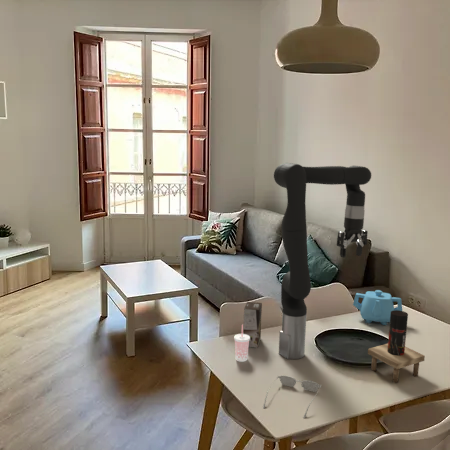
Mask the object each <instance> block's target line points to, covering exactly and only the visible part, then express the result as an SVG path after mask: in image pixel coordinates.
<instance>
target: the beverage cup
mask: <svg viewBox="0 0 450 450" xmlns="http://www.w3.org/2000/svg"><path fill="white" fill-rule="evenodd" d="M243 328H244V323H242V324H241V333H238V334H237V333H236V334H235V335H234V337H233V340H234V351H235V360H236V361H237V362H242V363H243V362H246V361H248V356H249V340H250V336H249V335H246V334H243Z"/></svg>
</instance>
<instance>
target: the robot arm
mask: <svg viewBox="0 0 450 450" xmlns="http://www.w3.org/2000/svg"><path fill="white" fill-rule="evenodd" d="M273 179H274V182H275V183H276V185H278V186H280V187H281V188H284V189H285V190H286V195H287V196H286V198H287V203H286V204H287V205H286V209H285V211H284V214H283V218H282V220H281V237H282V238H281V239H282V243H283V244H282V245H283V248H284V251H285V254H286V257H287V260H288V265H289V271H288V272H286V273H285V274H284V276H283V278H282V280H281V289H280V293H281V295H280V300H281V301H280V302H281V307H282V318H281V319H282V320H281V321H282V322H281V330H280V331H279V336H278V338H279V339H278V340H279V341H278V345H279V346H278V354H279V355H281V356H282V357H284V358H285V359H287V360H298V359H299V360H300V359H302V358H304V356H305V350H306V349H305V348H306V347H305V346H306V332H307V331H306V328H307V327H306V326H307V310H308V309H307V308H308V307H307V304H306V302H305V299H306V298H307V297H308V296H309V295H310V292H311V289H312V282H311V275H310V268H309V261H308V260H309V259H308V254H309V253H308V231H307V227H308V226H307V215H306V214H307V213H306V212H307V211H306V210H307V209H306V208H307V207H306V206H307V205H306V195H307V194H306V193H307V192H306V191H307V184H316V185H329V186H330V185H331V186H332V185H333V186H334V185H335V186H336V185H345V190H346V205H345V209H344V217H343V218H344V221H343V227H344V231H338V232H337V238H336V246H337V247H339V249H340V250H339V255H340V257H341V258H346V255H347V247H348V245H350V244H351V243H354V242H355V243H356V245H357V246H356V249H355V250H356V252H355V255H356V256H358V257H361V256H362V254H363V247H364V246H367V245H368V234H369V233H368V230H366V229H364V221H365V210H366V209H365V204H366V193H365V191H363V190H362V189H361V186H362V185H363V186H364V185H366V184H368V183H369V182H370V181H371V179H372V171H371V170H370V169H369V167H366V166H361V165H350V166H342V165H337V166H336V165H328V166H303V165H301V164H298V163H292V162H285V163H281V164H279V165H278V166H277V167H276V168H275V169H274V172H273Z"/></svg>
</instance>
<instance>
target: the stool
mask: <svg viewBox="0 0 450 450" xmlns="http://www.w3.org/2000/svg"><path fill="white" fill-rule="evenodd" d="M387 350H388V343H384V344H382V345H377V346H374V347H369V348H368V349H367V355H369V356H371V366H370V367H371V369H370V370H371V371H374V372H376V371H377V366H378V365H377V363H378V360H379V361H380V362H383V363H385V364H386V365H388V366H390V367H391V368H393V373H392V383H395V384H397V383H399V375H400V369H402V368H406V367H408V366H411V365H413V370H412V376H414V377H418V376H419V369H420V368H419V367H420V363H421V362H425V355H424V354H423V353H420V352H417V351H416V350H414V349H411V348H409V347H407V346H405V352H404V355H401V356H397V355H392V354H390V353H388V351H387Z"/></svg>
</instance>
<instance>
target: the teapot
mask: <svg viewBox="0 0 450 450" xmlns="http://www.w3.org/2000/svg"><path fill="white" fill-rule="evenodd" d="M359 298H361V299H362V301H361V303H360V302H359ZM394 302H397V306H394ZM402 303H403V302H402V298H401V297H394V296H393V297H392V295H391V293H389V292H383V291H382V290H380V289H376V290H375V291H372V290H371V291H366V292H365V293H360V292H356V293H355V296H354V299H353V303H352V306H354V307H355V308H356V309H358V310H359V312H360V316H361V318H362V319H363V320H364V323H366V324H371V323H372V322H378V323H380V324H381V325H382V326H388V323H390V315H391V311H394V310H399V311H403V304H402Z"/></svg>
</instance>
